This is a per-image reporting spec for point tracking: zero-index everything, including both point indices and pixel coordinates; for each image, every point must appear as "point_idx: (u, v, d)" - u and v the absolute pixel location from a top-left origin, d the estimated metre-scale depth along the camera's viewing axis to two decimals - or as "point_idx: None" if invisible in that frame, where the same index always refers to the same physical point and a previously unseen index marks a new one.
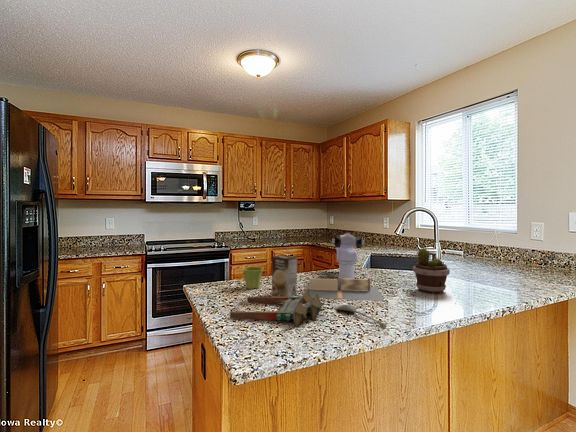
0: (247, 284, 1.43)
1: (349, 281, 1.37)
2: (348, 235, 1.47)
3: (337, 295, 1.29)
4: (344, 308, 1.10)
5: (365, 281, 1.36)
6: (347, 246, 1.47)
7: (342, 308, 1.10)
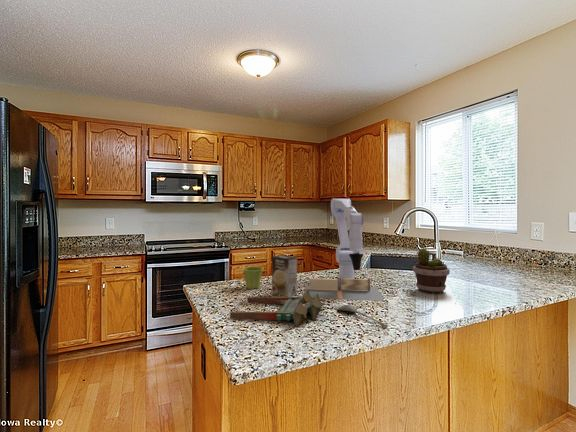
0: (247, 284, 1.43)
1: (349, 281, 1.37)
2: (362, 250, 1.42)
3: (337, 295, 1.29)
4: (345, 308, 1.09)
5: (365, 281, 1.36)
6: None
7: (343, 308, 1.10)
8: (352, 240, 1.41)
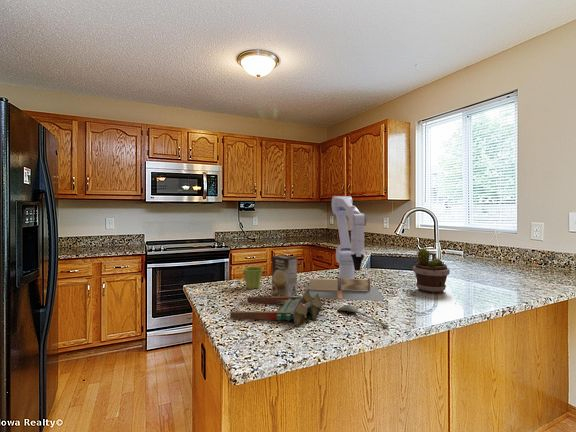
0: (247, 284, 1.43)
1: (349, 281, 1.37)
2: (363, 251, 1.42)
3: (337, 295, 1.29)
4: (345, 309, 1.09)
5: (365, 281, 1.36)
6: (352, 251, 1.43)
7: (343, 309, 1.10)
8: (354, 242, 1.40)
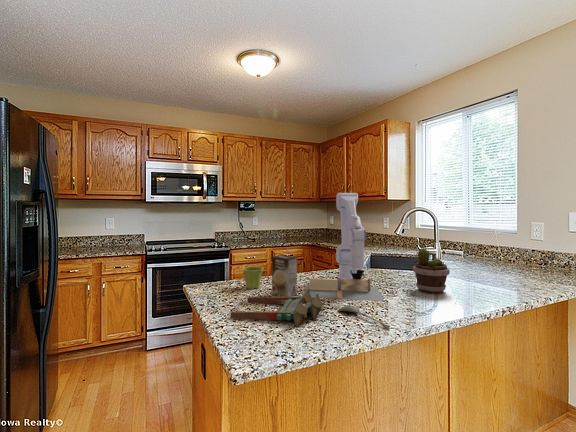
0: (247, 284, 1.43)
1: (349, 281, 1.37)
2: (363, 268, 1.38)
3: (337, 295, 1.29)
4: (347, 309, 1.09)
5: (365, 281, 1.36)
6: None
7: (345, 309, 1.09)
8: (353, 257, 1.37)
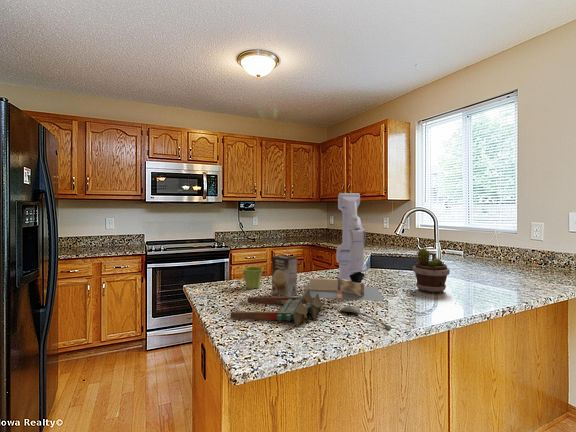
0: (247, 284, 1.43)
1: (346, 282, 1.35)
2: None
3: (337, 295, 1.29)
4: (348, 309, 1.08)
5: (358, 285, 1.29)
6: None
7: (346, 309, 1.09)
8: (350, 259, 1.33)
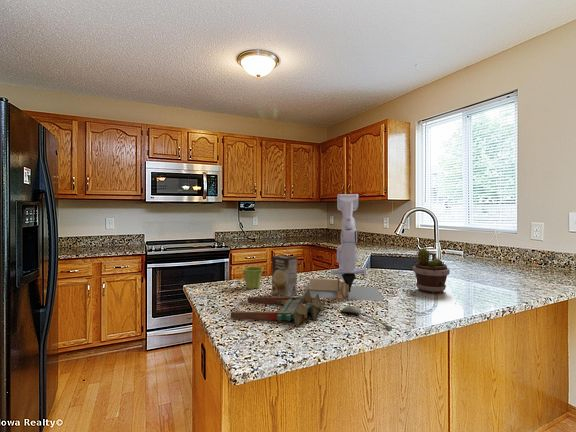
0: (247, 284, 1.43)
1: (340, 283, 1.34)
2: (351, 272, 1.28)
3: (337, 295, 1.29)
4: (348, 310, 1.08)
5: (344, 286, 1.27)
6: None
7: (346, 310, 1.08)
8: None
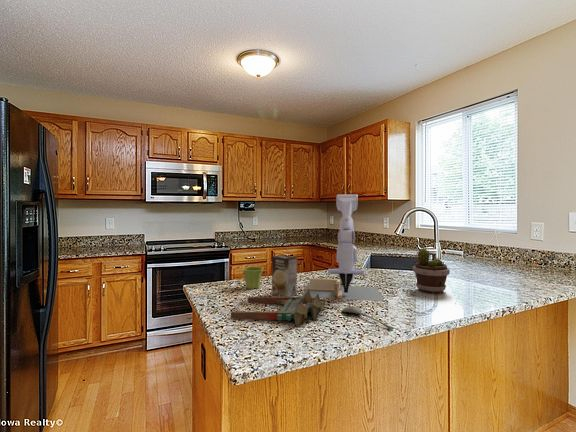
0: (247, 284, 1.43)
1: None
2: (346, 272, 1.27)
3: None
4: (349, 310, 1.08)
5: None
6: None
7: (347, 310, 1.08)
8: None
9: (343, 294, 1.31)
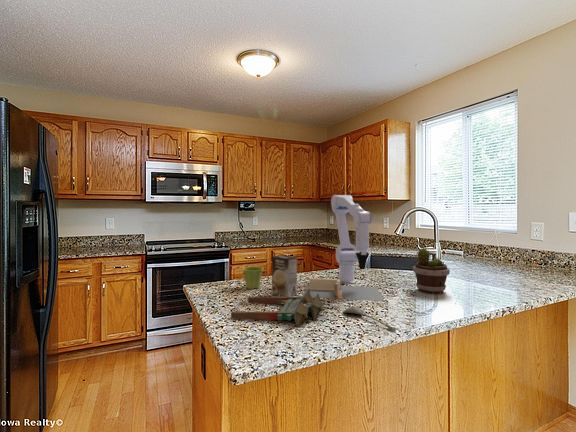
0: (247, 284, 1.43)
1: None
2: (368, 250, 1.41)
3: None
4: (351, 311, 1.07)
5: None
6: (357, 249, 1.41)
7: (349, 311, 1.07)
8: (359, 240, 1.38)
9: (343, 294, 1.31)
